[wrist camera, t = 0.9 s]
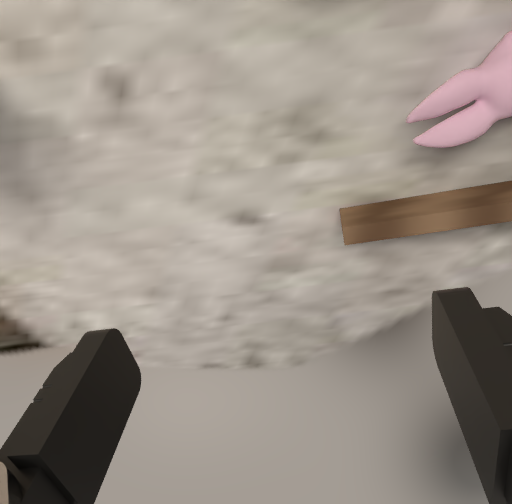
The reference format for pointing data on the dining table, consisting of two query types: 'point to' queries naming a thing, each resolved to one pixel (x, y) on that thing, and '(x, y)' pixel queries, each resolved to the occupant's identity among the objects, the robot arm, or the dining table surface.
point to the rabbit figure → (469, 100)
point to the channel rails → (428, 213)
